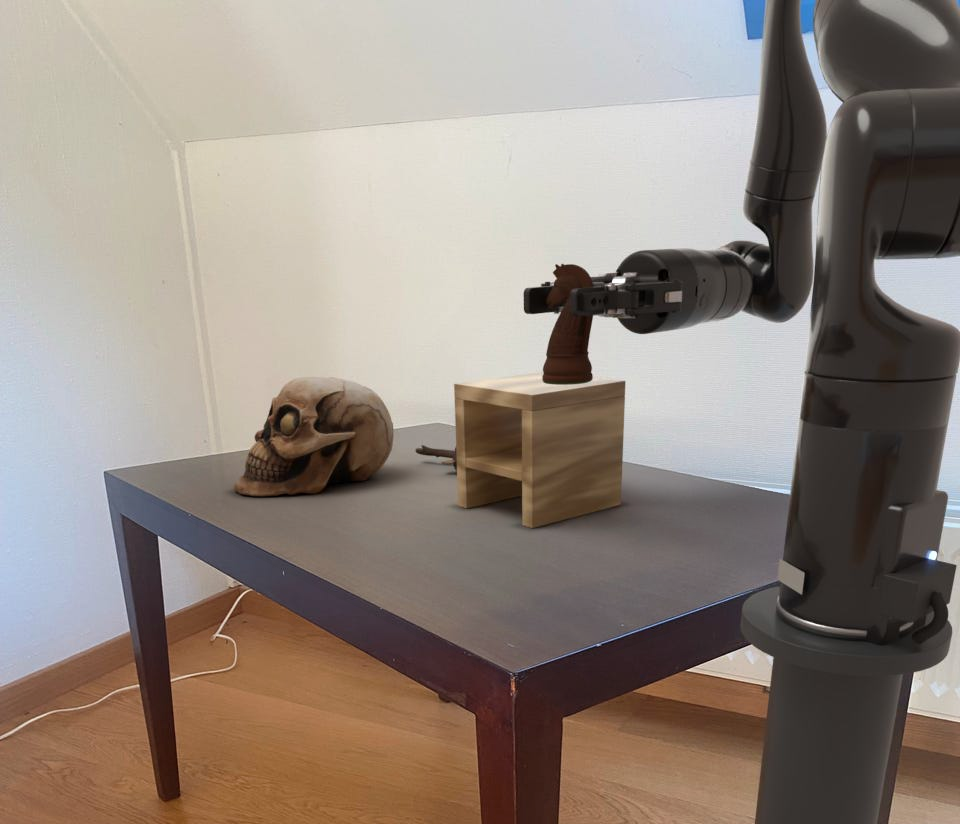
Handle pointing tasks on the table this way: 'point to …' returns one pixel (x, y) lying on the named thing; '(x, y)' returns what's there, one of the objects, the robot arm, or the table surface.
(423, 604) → the table surface
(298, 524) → the table surface
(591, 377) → the chess piece
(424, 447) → the tree branch
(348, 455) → the tan skull
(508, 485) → the stand
